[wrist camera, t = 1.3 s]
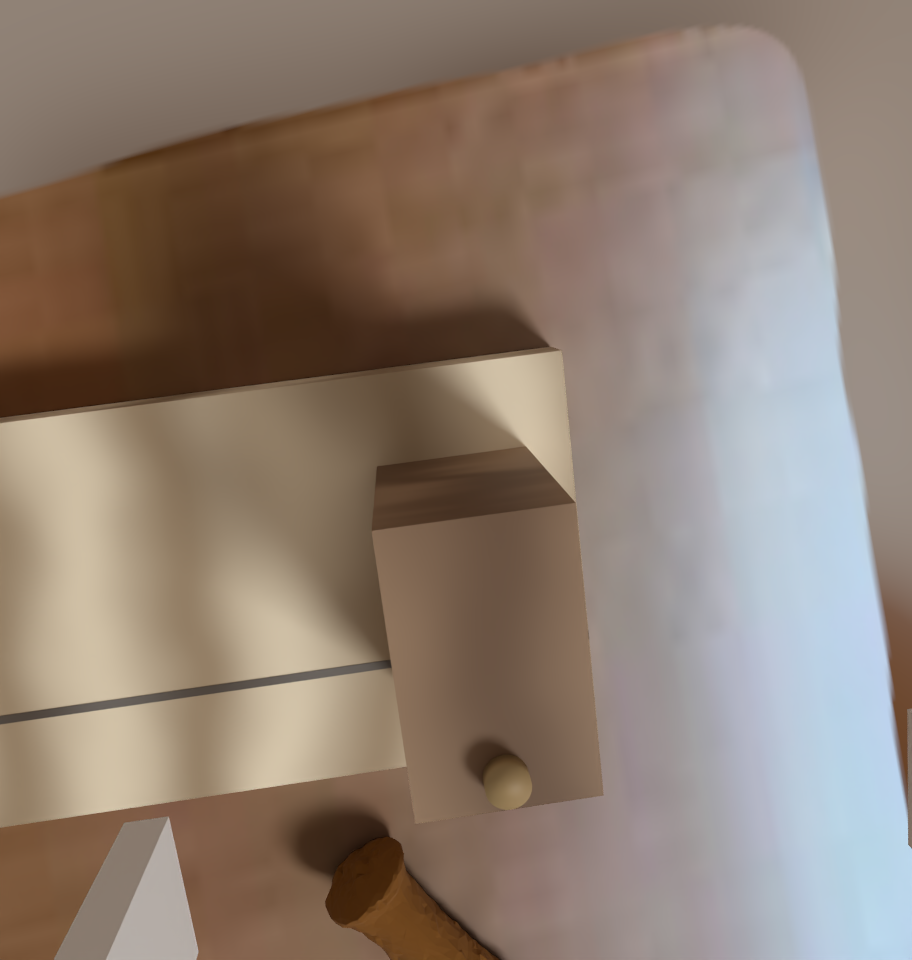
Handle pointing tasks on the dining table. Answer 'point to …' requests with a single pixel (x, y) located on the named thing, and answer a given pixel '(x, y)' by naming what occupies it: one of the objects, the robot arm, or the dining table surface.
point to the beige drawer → (486, 633)
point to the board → (223, 577)
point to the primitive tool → (395, 908)
